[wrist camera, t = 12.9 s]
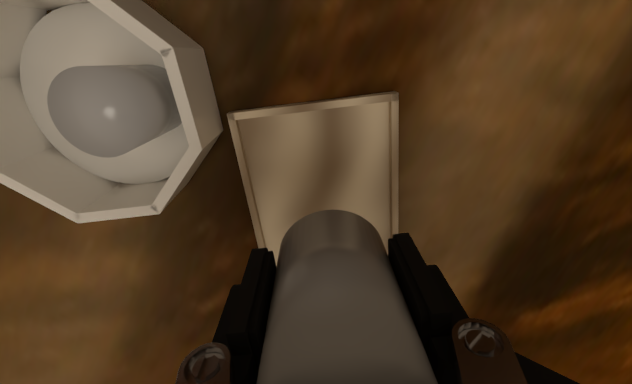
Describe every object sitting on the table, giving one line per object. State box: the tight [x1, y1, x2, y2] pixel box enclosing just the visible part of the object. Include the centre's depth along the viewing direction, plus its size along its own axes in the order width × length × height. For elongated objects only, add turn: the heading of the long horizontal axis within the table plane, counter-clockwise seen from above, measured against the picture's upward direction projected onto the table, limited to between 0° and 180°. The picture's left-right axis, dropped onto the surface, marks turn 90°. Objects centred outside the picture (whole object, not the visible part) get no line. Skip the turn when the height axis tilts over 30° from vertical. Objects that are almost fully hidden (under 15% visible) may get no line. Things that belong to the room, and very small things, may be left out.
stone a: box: [47, 65, 182, 158], centre depth 18 cm, size 4×4×6 cm
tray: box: [227, 91, 399, 267], centre depth 25 cm, size 12×16×1 cm
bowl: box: [0, 0, 223, 223], centre depth 19 cm, size 13×13×5 cm
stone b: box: [256, 210, 438, 384], centre depth 10 cm, size 4×4×6 cm
